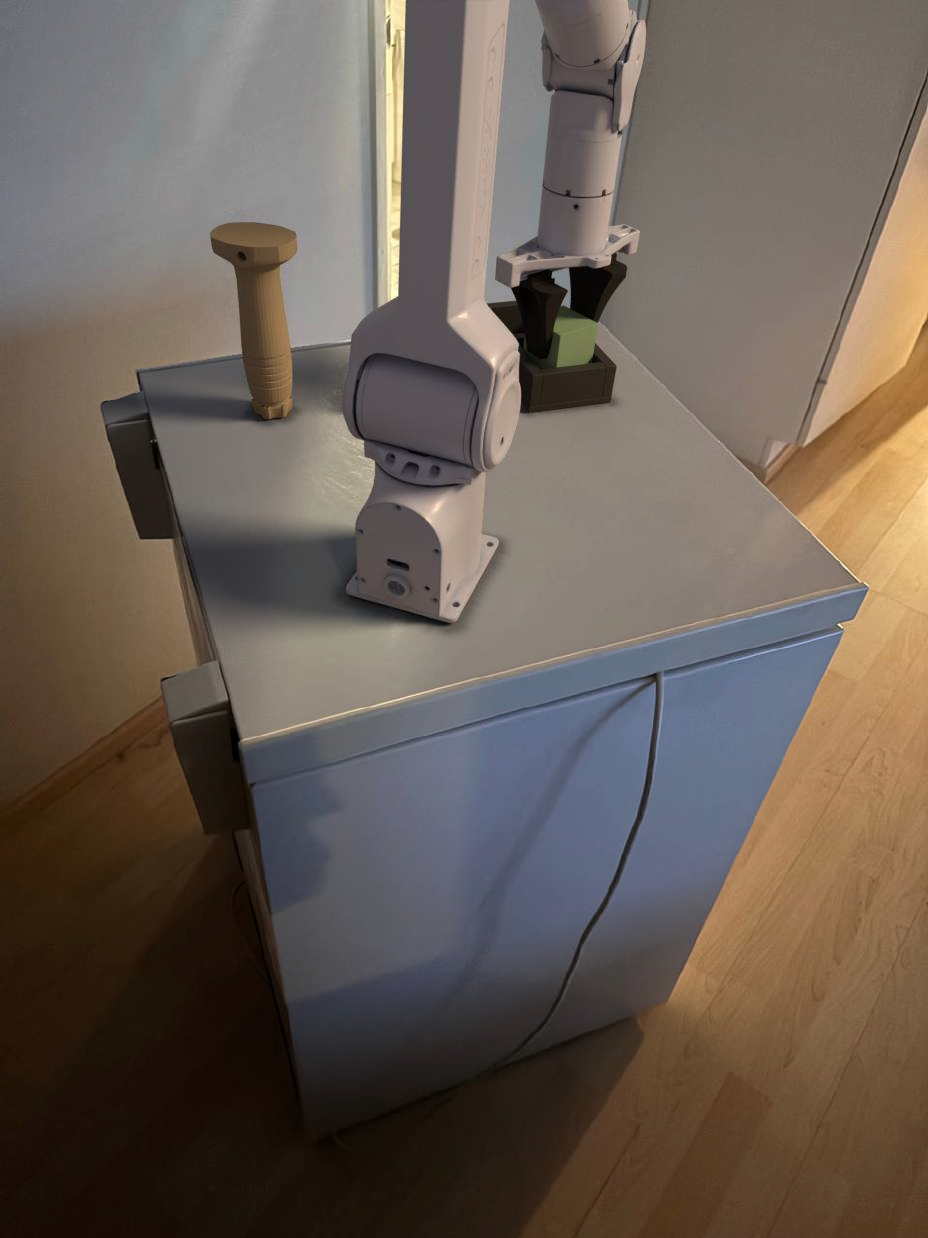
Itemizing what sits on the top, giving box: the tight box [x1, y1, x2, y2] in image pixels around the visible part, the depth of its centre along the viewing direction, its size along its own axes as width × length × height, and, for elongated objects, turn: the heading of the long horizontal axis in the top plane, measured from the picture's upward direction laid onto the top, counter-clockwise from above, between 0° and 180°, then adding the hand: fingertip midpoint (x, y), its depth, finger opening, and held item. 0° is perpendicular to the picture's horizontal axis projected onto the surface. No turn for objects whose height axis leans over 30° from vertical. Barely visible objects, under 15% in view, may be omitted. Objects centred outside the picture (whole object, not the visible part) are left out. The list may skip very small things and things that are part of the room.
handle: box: [209, 221, 298, 420], centre depth 72 cm, size 5×6×15 cm
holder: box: [486, 300, 618, 414], centre depth 84 cm, size 8×15×4 cm, turn 18°
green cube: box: [523, 304, 599, 369], centre depth 80 cm, size 4×4×4 cm
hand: (558, 347), depth 80 cm, fingers closed on green cube, 4 cm apart
